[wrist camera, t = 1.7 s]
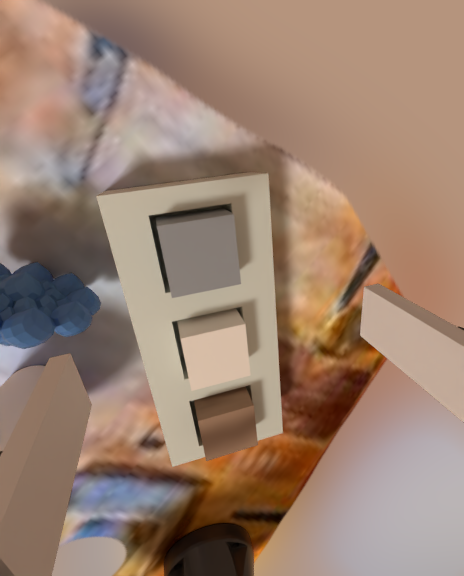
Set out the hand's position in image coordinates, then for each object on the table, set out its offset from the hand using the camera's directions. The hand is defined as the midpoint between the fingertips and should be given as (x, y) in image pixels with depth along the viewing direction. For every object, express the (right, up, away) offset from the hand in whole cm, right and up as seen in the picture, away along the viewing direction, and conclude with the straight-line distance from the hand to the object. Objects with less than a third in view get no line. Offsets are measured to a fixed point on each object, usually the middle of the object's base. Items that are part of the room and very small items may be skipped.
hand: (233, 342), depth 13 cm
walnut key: (-1, -12, +22) cm, 25 cm away
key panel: (-3, -1, +22) cm, 22 cm away
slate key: (-4, +6, +14) cm, 16 cm away
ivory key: (-2, -3, +18) cm, 19 cm away
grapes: (-19, +3, +16) cm, 25 cm away
